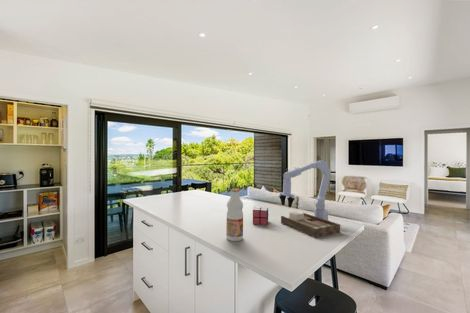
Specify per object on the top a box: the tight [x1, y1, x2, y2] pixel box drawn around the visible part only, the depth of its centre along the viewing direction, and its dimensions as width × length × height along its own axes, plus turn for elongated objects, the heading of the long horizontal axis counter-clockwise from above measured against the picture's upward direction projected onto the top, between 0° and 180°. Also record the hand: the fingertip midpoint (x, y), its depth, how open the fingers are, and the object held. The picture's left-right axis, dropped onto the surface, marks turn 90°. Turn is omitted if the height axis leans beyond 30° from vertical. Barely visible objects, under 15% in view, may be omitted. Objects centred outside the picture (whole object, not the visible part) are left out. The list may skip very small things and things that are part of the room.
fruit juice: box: [225, 188, 244, 242], centre depth 126 cm, size 9×9×28 cm
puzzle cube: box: [252, 206, 269, 226], centre depth 157 cm, size 10×10×10 cm
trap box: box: [280, 212, 341, 239], centre depth 147 cm, size 21×31×5 cm
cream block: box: [288, 210, 305, 220], centre depth 157 cm, size 7×7×4 cm
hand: (286, 206), depth 167 cm, fingers open, 7 cm apart
